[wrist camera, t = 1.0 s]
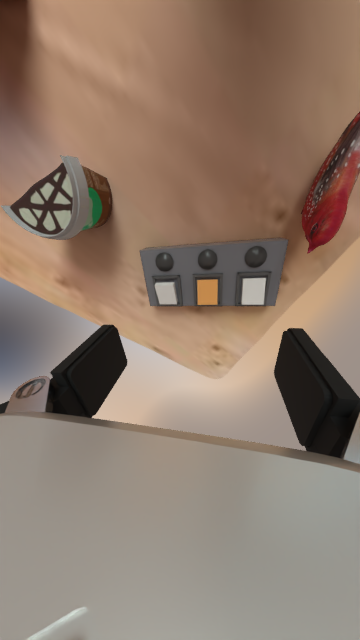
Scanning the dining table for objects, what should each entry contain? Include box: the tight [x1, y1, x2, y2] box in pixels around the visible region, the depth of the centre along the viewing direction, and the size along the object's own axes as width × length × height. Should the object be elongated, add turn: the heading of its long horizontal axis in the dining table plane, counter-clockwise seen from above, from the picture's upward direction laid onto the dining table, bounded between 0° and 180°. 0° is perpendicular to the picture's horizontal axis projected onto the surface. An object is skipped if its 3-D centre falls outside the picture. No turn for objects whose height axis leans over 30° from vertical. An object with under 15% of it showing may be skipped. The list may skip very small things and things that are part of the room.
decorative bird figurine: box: [301, 112, 360, 253], centre depth 18 cm, size 3×18×10 cm, turn 169°
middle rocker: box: [197, 279, 218, 305], centre depth 28 cm, size 4×3×1 cm
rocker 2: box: [241, 278, 266, 305], centre depth 27 cm, size 4×3×1 cm
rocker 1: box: [155, 282, 178, 304], centre depth 30 cm, size 4×3×1 cm
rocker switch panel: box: [140, 238, 288, 306], centre depth 29 cm, size 10×22×4 cm, turn 95°
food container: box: [1, 155, 112, 240], centre depth 25 cm, size 12×6×10 cm, turn 112°
